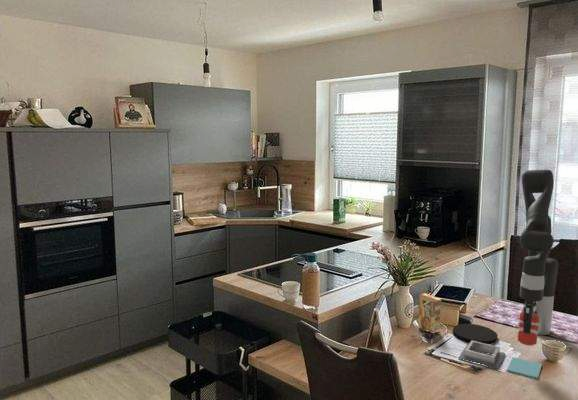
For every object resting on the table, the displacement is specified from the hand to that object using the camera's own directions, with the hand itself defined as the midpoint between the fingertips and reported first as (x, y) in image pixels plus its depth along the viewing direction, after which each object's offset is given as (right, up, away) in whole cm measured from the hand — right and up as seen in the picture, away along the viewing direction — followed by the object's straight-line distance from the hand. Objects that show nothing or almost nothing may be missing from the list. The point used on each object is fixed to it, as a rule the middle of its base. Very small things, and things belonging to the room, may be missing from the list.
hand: (528, 329), depth 173 cm
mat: (0, -15, +2) cm, 15 cm away
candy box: (-26, -10, +35) cm, 45 cm away
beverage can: (0, -5, +1) cm, 5 cm away
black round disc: (-8, -11, +30) cm, 33 cm away
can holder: (-13, -14, +10) cm, 21 cm away
